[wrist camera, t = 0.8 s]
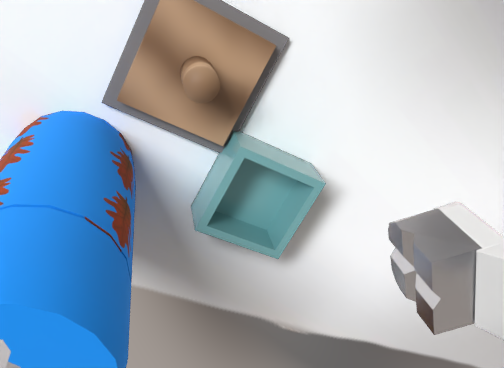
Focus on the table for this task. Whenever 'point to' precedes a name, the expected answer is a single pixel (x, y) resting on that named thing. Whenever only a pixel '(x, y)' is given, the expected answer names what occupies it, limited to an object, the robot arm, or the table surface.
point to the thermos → (66, 243)
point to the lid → (195, 69)
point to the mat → (146, 13)
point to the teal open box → (255, 195)
